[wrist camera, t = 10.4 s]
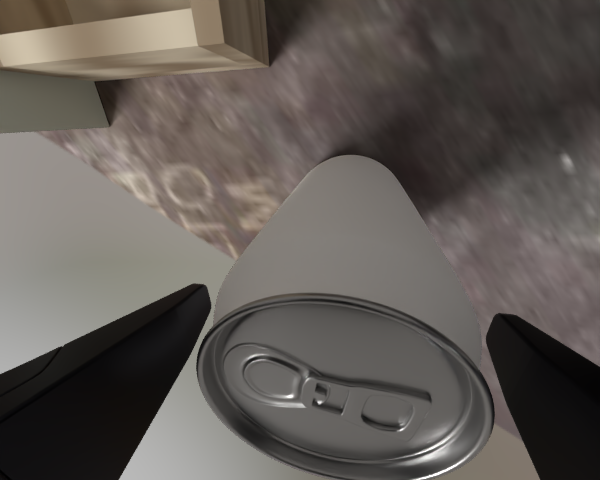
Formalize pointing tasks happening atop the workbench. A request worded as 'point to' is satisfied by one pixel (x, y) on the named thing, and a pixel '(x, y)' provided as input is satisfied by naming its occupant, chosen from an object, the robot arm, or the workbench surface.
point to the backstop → (48, 103)
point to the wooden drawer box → (131, 37)
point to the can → (348, 337)
